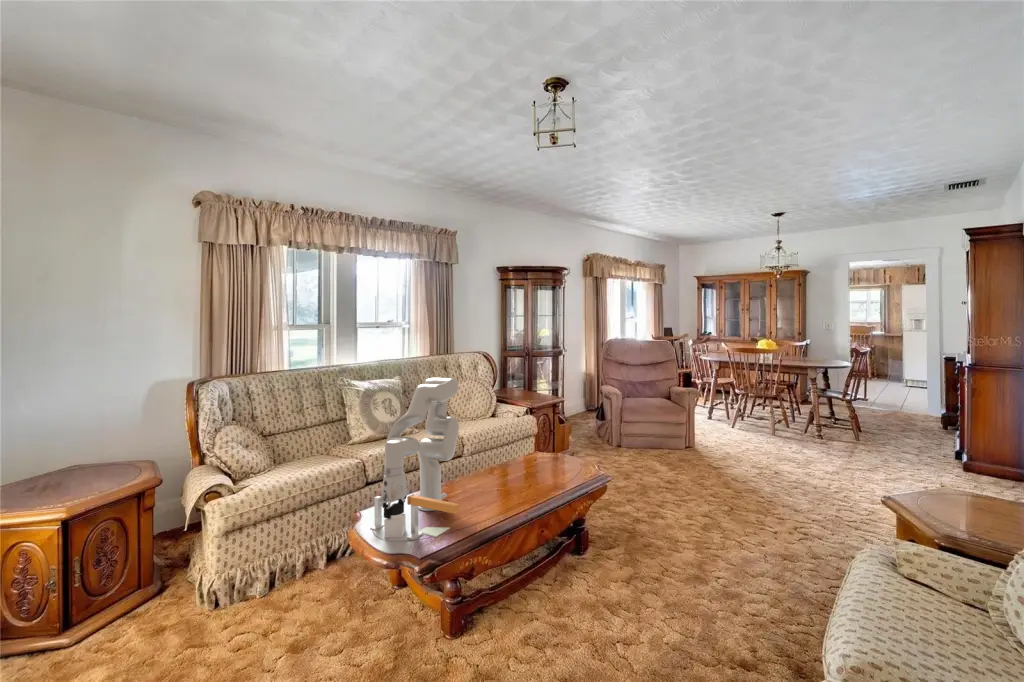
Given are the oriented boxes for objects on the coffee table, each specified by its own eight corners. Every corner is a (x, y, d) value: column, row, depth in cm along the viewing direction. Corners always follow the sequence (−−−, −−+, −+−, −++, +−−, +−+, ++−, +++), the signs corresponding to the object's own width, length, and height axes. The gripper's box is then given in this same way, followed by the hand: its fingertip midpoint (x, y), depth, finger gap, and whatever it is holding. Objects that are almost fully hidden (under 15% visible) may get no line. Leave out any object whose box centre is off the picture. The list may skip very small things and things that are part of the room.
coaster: (432, 524, 197) (432, 523, 197) (450, 529, 192) (450, 527, 192) (417, 533, 189) (417, 531, 189) (436, 537, 184) (436, 536, 184)
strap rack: (380, 524, 198) (380, 494, 198) (422, 535, 186) (422, 502, 187) (370, 529, 193) (369, 498, 193) (412, 540, 181) (412, 507, 181)
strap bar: (412, 501, 187) (412, 494, 187) (459, 511, 176) (459, 503, 176) (407, 504, 184) (407, 496, 184) (454, 514, 173) (454, 506, 173)
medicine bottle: (405, 530, 192) (405, 501, 192) (402, 537, 184) (401, 507, 185) (388, 531, 191) (388, 501, 191) (384, 538, 184) (383, 508, 184)
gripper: (385, 477, 180) (385, 523, 179) (415, 467, 195) (415, 510, 194) (371, 474, 183) (371, 520, 183) (402, 465, 199) (402, 507, 198)
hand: (393, 514), depth 189 cm, fingers closed on medicine bottle, 6 cm apart
